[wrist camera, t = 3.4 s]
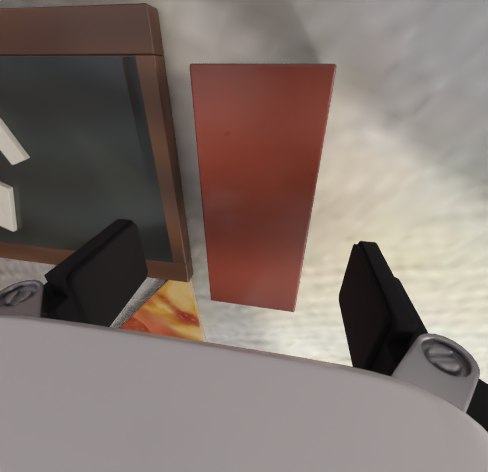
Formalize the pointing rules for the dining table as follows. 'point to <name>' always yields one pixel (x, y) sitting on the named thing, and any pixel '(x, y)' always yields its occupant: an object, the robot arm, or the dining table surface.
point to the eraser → (259, 174)
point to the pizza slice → (169, 313)
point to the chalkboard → (90, 133)
